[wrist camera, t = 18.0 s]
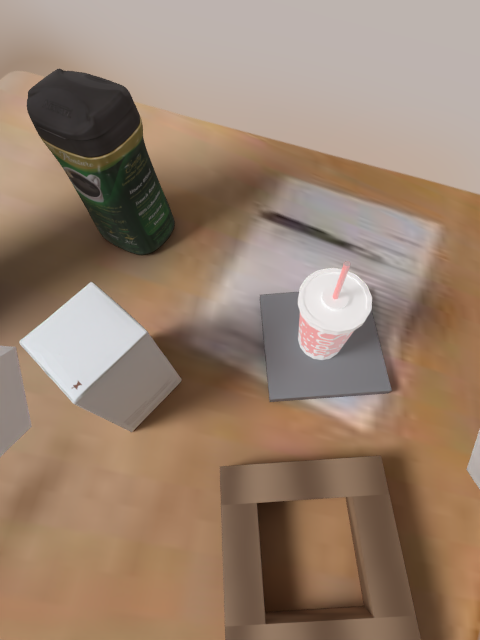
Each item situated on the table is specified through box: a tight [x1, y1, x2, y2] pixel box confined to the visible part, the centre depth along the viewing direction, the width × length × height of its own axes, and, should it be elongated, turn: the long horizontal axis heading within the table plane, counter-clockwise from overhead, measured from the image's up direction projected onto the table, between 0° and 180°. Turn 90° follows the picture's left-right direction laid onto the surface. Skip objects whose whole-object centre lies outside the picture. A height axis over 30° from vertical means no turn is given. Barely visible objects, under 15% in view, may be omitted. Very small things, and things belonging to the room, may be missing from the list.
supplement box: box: [20, 282, 182, 432], centre depth 33 cm, size 7×7×13 cm
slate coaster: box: [260, 292, 392, 402], centre depth 39 cm, size 12×12×1 cm
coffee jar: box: [27, 69, 174, 255], centre depth 39 cm, size 10×8×19 cm
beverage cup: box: [298, 261, 372, 360], centre depth 32 cm, size 6×6×14 cm
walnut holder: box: [220, 456, 421, 640], centre depth 30 cm, size 14×14×3 cm
